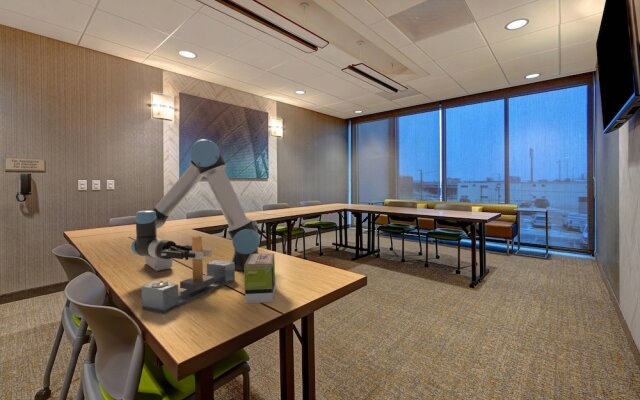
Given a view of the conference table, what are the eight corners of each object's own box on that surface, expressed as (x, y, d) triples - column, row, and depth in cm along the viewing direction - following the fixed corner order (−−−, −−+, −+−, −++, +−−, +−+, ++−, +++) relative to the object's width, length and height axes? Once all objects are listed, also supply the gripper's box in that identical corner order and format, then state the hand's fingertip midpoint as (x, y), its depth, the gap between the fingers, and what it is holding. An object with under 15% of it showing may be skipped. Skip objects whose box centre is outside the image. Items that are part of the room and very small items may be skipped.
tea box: (250, 288, 120) (250, 252, 119) (275, 288, 121) (275, 252, 120) (244, 304, 105) (243, 263, 104) (273, 303, 106) (272, 262, 105)
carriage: (199, 280, 123) (198, 233, 122) (214, 282, 120) (213, 235, 119) (180, 288, 114) (178, 238, 112) (196, 291, 111) (194, 239, 109)
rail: (216, 277, 134) (216, 258, 133) (234, 280, 130) (234, 260, 129) (142, 309, 100) (141, 283, 100) (163, 314, 97) (162, 287, 96)
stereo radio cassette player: (173, 269, 146) (172, 229, 145) (155, 272, 141) (153, 231, 139) (160, 260, 161) (158, 224, 160) (143, 263, 155) (141, 226, 154)
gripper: (180, 253, 131) (222, 258, 122) (145, 263, 115) (190, 270, 107) (179, 236, 130) (221, 240, 121) (144, 244, 115) (189, 249, 106)
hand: (206, 254), depth 114 cm, fingers closed on carriage, 4 cm apart
